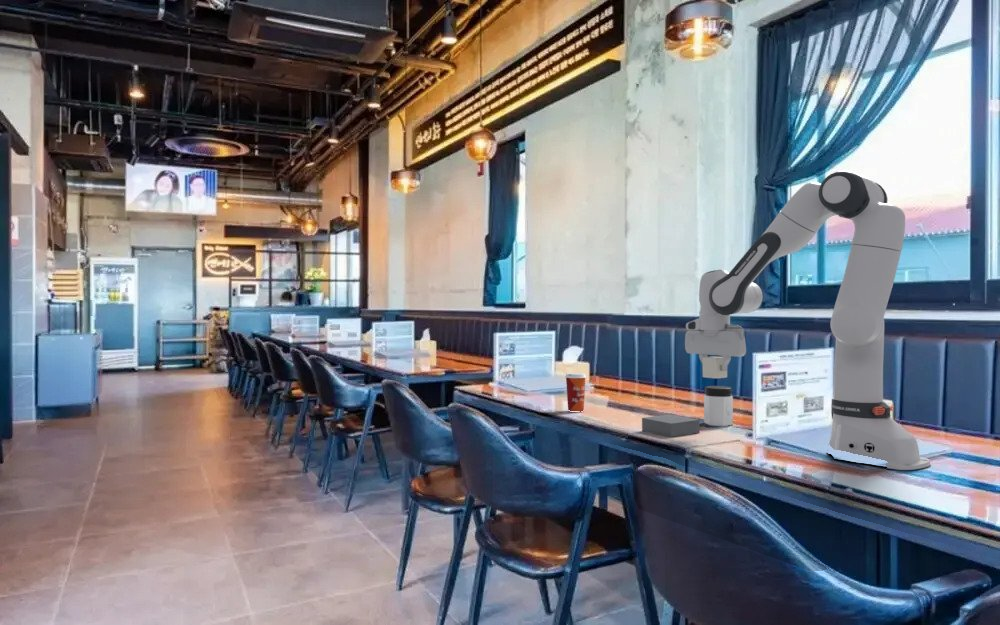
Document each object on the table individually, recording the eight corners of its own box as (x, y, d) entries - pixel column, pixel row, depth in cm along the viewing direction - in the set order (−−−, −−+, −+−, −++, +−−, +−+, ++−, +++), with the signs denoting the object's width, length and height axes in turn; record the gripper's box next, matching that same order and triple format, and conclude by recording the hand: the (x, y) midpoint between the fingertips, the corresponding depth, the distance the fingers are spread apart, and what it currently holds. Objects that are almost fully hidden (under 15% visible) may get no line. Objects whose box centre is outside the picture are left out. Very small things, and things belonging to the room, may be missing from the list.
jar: (719, 427, 206) (719, 389, 206) (699, 423, 213) (699, 386, 213) (737, 424, 211) (737, 387, 211) (716, 421, 218) (716, 385, 218)
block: (727, 377, 196) (727, 357, 196) (716, 378, 193) (715, 358, 193) (713, 376, 200) (713, 356, 200) (702, 377, 197) (702, 357, 197)
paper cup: (576, 413, 234) (576, 374, 234) (561, 411, 240) (560, 373, 239) (591, 411, 239) (590, 373, 239) (575, 409, 245) (575, 371, 245)
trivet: (699, 432, 197) (699, 419, 197) (671, 437, 191) (671, 423, 190) (669, 426, 207) (669, 414, 207) (642, 430, 201) (642, 417, 201)
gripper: (750, 324, 189) (751, 372, 189) (695, 323, 207) (695, 367, 207) (736, 325, 186) (736, 373, 186) (681, 323, 203) (681, 368, 203)
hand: (714, 370), depth 197 cm, fingers closed on block, 5 cm apart
